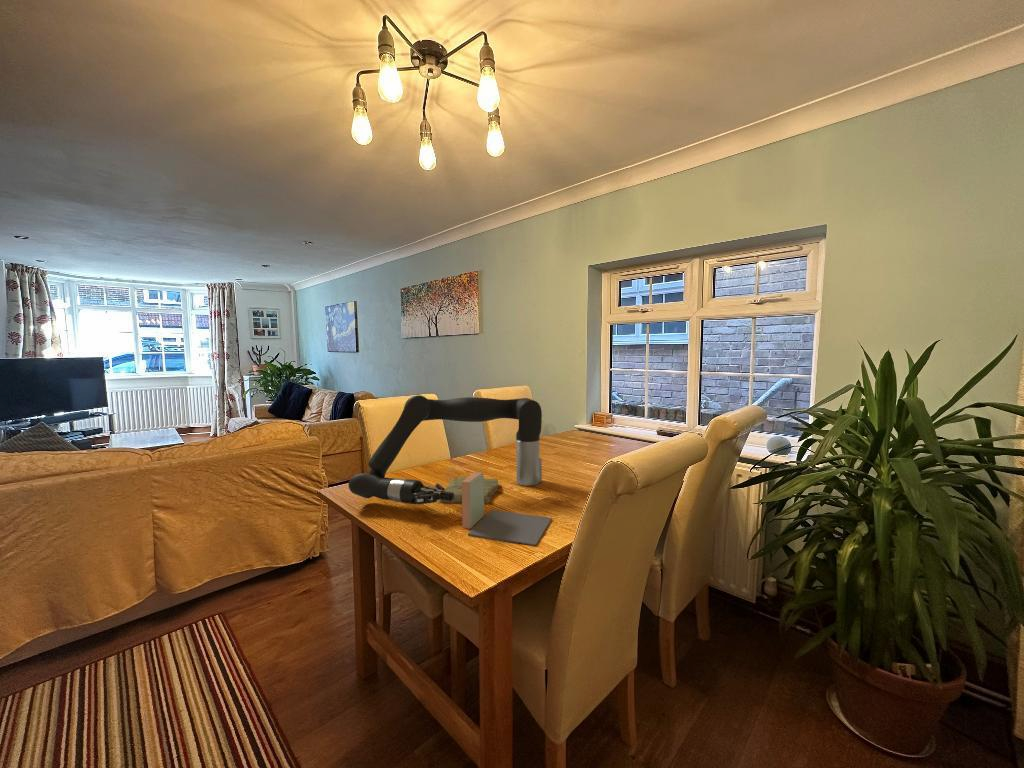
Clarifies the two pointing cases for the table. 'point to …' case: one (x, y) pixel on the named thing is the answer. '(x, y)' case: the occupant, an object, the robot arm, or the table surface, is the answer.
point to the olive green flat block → (456, 488)
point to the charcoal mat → (511, 527)
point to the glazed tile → (472, 499)
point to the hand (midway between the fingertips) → (453, 496)
